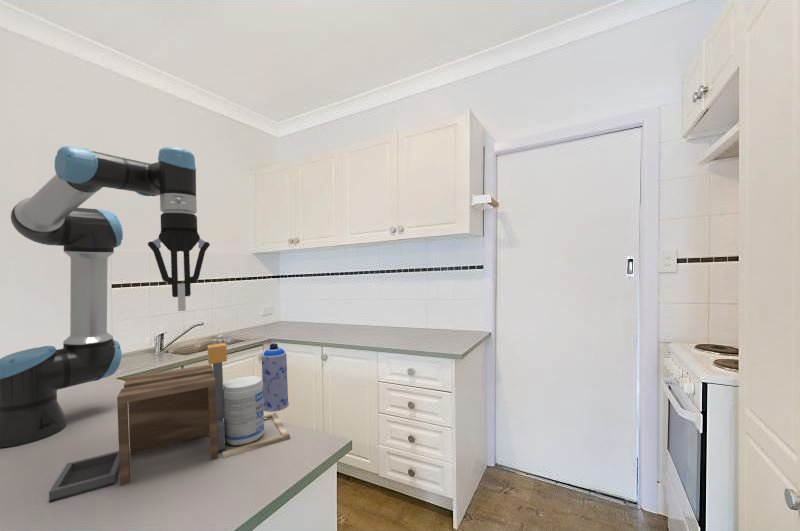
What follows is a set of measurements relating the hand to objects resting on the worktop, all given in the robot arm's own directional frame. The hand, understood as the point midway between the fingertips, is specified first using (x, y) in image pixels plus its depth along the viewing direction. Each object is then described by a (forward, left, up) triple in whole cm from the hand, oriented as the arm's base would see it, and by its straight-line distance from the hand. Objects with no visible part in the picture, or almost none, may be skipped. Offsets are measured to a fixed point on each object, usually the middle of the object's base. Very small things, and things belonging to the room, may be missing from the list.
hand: (182, 310), depth 85 cm
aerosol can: (-16, +24, -35) cm, 45 cm away
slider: (0, +7, -35) cm, 35 cm away
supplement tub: (+1, +13, -35) cm, 37 cm away
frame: (0, +15, -35) cm, 38 cm away
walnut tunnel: (0, -3, -35) cm, 35 cm away
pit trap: (0, -18, -35) cm, 39 cm away
